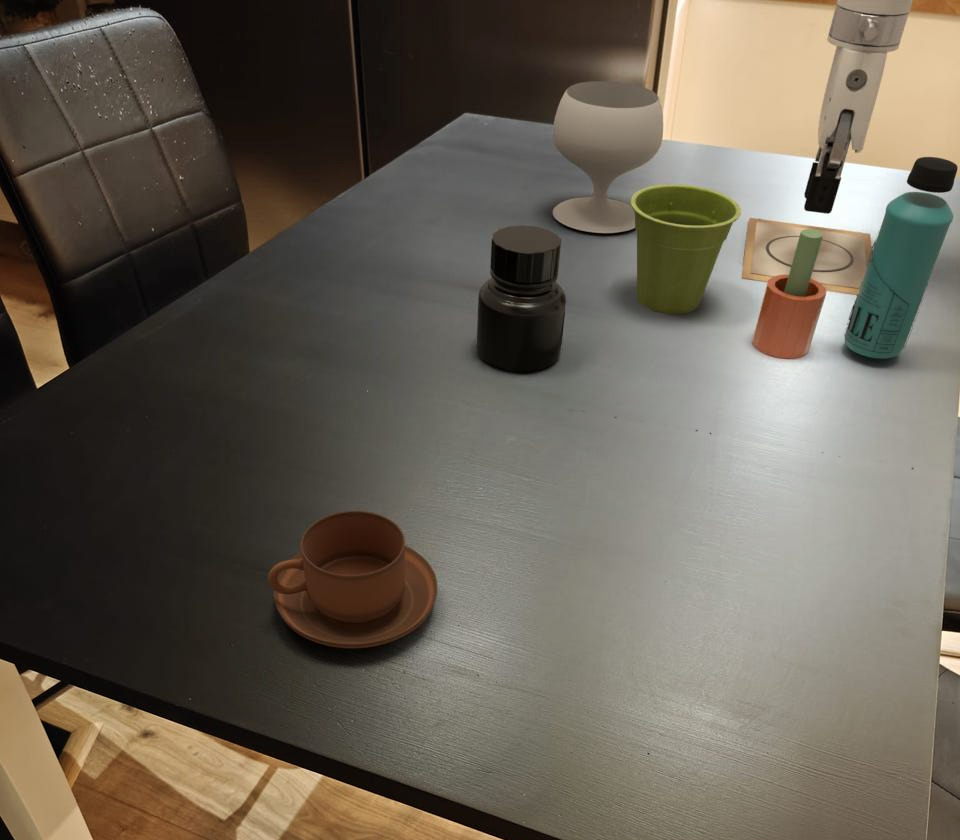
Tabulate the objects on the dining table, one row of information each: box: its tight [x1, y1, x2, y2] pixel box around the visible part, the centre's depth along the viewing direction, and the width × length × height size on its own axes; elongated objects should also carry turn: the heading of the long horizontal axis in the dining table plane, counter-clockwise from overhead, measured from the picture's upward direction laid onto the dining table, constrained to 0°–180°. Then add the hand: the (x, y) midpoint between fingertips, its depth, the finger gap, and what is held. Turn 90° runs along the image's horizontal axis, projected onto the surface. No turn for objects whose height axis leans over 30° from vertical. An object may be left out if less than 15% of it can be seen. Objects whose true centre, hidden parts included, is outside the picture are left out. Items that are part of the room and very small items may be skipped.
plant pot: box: [630, 183, 742, 315], centre depth 105 cm, size 12×12×11 cm
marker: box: [784, 229, 823, 297], centre depth 97 cm, size 2×2×12 cm
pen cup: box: [751, 275, 827, 360], centre depth 99 cm, size 6×6×7 cm
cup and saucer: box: [267, 510, 438, 649], centre depth 68 cm, size 12×12×6 cm
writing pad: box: [741, 217, 873, 296], centre depth 119 cm, size 16×20×1 cm
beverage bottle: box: [843, 156, 959, 359], centre depth 94 cm, size 6×7×20 cm
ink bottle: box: [476, 224, 567, 372], centre depth 95 cm, size 10×9×12 cm
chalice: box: [552, 80, 664, 234], centre depth 121 cm, size 14×14×15 cm
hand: (817, 203), depth 113 cm, fingers open, 3 cm apart
